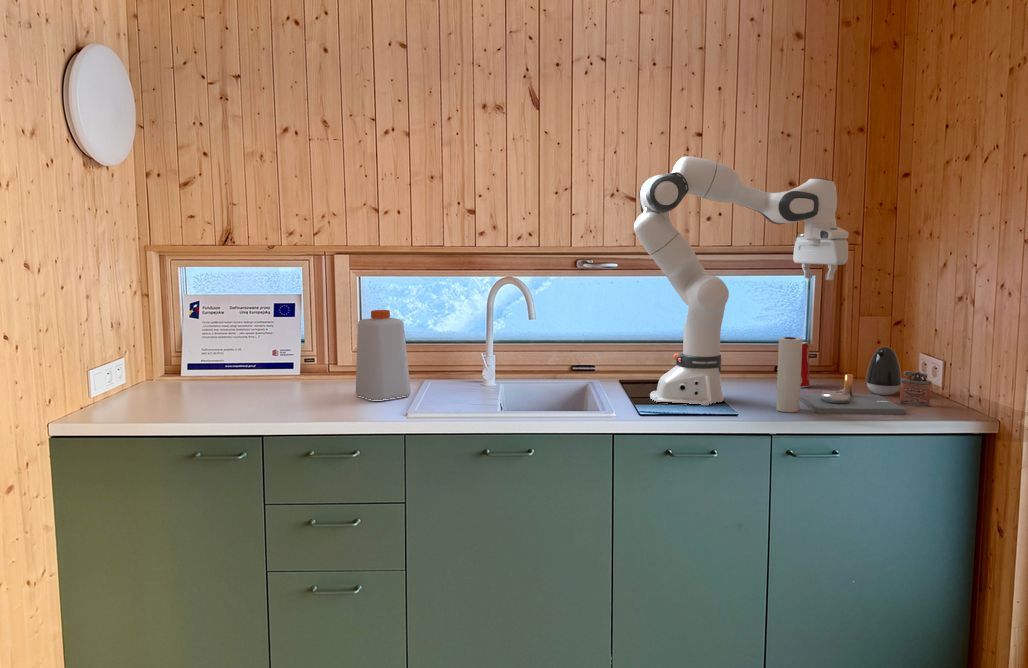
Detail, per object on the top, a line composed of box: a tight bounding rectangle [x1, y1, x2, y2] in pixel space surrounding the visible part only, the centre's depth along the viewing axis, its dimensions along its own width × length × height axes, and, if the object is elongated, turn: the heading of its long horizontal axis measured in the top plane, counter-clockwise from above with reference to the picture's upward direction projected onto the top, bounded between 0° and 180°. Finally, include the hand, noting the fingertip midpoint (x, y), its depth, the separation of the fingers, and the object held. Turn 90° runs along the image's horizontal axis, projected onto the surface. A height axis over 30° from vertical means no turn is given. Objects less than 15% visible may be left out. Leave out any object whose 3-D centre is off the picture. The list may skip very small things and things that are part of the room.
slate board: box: [800, 393, 906, 415], centre depth 213 cm, size 24×18×2 cm
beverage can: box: [800, 341, 810, 389], centre depth 240 cm, size 6×6×15 cm
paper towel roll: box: [775, 336, 804, 413], centre depth 207 cm, size 7×6×21 cm
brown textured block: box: [898, 370, 933, 408], centre depth 213 cm, size 8×3×10 cm, turn 59°
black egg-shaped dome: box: [865, 346, 903, 396], centre depth 228 cm, size 10×10×15 cm
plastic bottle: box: [355, 309, 412, 400], centre depth 231 cm, size 15×15×28 cm
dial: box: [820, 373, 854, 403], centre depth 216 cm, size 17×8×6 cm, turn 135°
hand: (818, 279), depth 217 cm, fingers open, 8 cm apart
